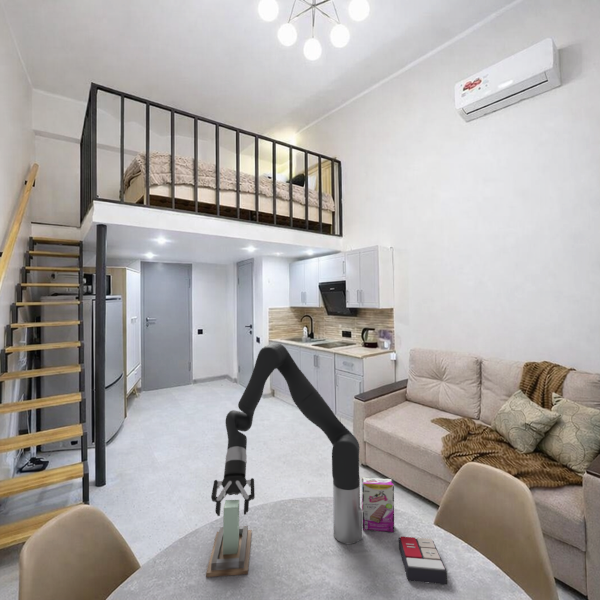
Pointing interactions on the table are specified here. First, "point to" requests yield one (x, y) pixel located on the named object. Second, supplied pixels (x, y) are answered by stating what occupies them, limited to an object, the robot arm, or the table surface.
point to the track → (230, 555)
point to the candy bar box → (377, 504)
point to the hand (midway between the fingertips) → (231, 514)
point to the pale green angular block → (231, 527)
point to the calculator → (422, 560)
